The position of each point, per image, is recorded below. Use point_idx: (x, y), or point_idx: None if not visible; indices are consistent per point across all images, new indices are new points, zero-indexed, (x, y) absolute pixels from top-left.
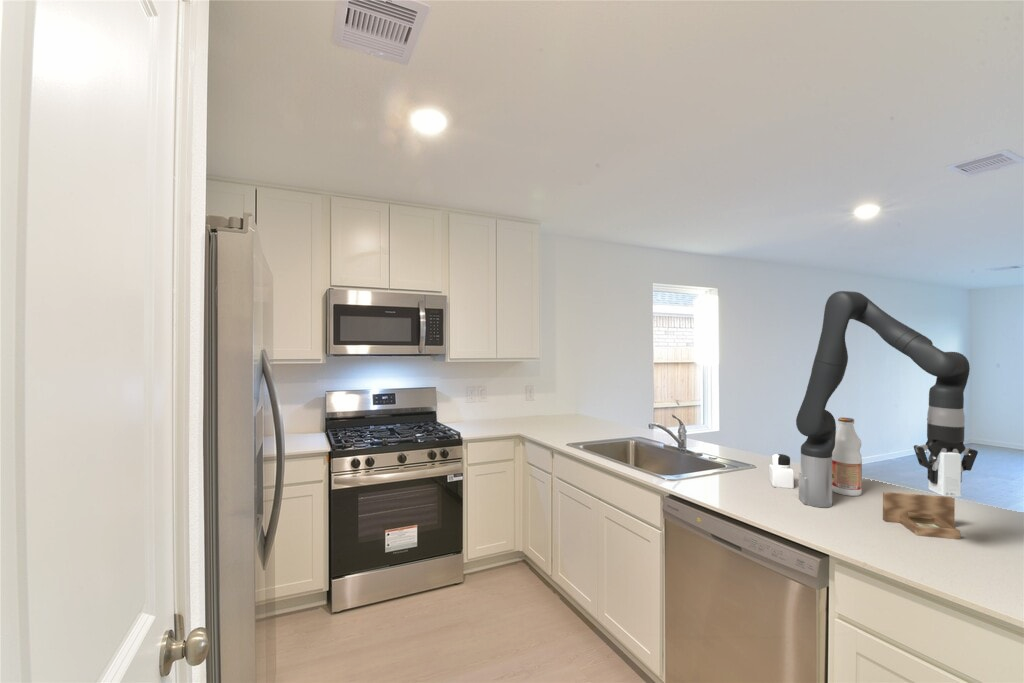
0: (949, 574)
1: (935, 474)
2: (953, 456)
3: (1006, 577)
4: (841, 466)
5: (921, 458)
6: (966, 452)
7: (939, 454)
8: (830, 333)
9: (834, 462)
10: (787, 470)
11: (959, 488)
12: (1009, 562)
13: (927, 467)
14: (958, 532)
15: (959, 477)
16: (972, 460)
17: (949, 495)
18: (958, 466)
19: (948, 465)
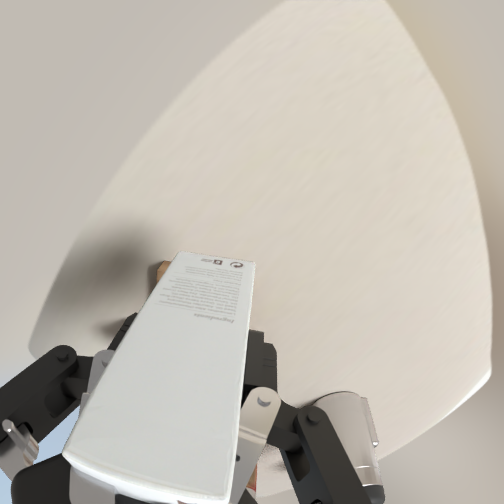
0: (352, 80)
1: (258, 367)
2: (135, 457)
3: (224, 67)
4: (249, 481)
5: (350, 463)
6: (20, 448)
7: (233, 495)
8: None
9: (255, 489)
10: None
11: (172, 271)
12: (148, 145)
13: (307, 407)
14: (162, 269)
15: (149, 310)
16: (17, 387)
17: (227, 259)
18: (125, 369)
19: (201, 391)
